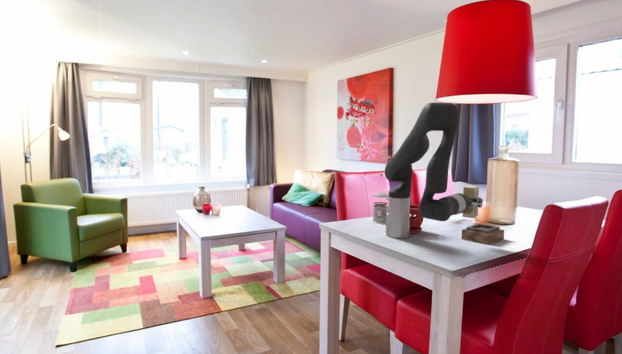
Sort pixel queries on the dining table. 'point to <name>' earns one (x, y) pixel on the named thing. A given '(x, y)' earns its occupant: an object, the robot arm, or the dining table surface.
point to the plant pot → (415, 219)
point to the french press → (380, 208)
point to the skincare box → (474, 193)
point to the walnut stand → (483, 234)
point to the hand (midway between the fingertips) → (473, 199)
